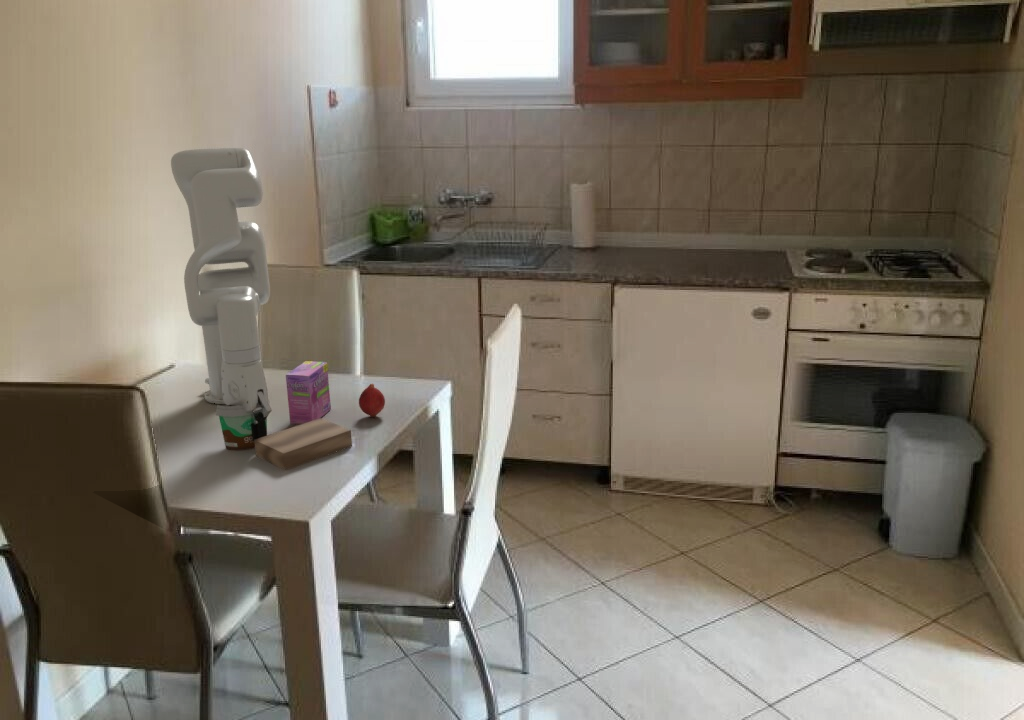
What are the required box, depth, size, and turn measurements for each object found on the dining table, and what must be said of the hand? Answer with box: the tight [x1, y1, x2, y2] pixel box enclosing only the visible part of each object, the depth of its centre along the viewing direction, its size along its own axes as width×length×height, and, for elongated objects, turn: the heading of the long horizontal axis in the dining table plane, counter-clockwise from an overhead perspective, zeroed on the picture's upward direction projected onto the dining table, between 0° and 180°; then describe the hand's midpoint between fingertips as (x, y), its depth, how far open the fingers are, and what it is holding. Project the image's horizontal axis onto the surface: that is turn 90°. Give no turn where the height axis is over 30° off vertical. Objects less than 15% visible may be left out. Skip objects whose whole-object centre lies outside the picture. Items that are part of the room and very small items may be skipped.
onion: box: [358, 383, 386, 418], centre depth 193 cm, size 6×6×8 cm
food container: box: [215, 398, 271, 451], centre depth 178 cm, size 12×6×10 cm, turn 148°
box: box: [285, 360, 332, 425], centre depth 193 cm, size 10×6×12 cm, turn 168°
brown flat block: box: [254, 417, 353, 471], centre depth 175 cm, size 11×16×4 cm
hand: (251, 435), depth 179 cm, fingers closed on food container, 5 cm apart
